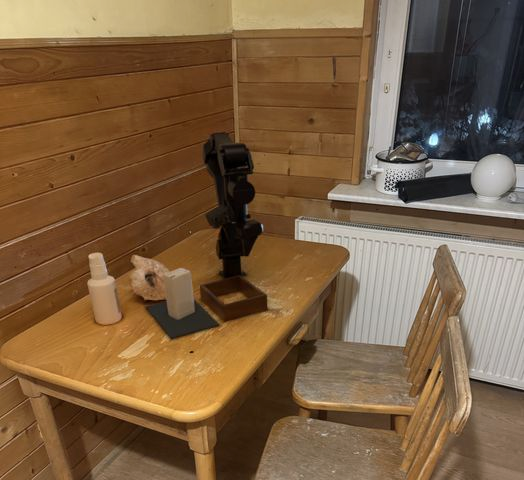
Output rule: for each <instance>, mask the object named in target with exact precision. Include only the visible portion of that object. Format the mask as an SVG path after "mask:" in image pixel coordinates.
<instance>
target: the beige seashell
mask: <svg viewBox="0 0 524 480" xmlns="http://www.w3.org/2000/svg"><path fill="white" fill-rule="evenodd" d="M130 263H132V264H133V266H134V267H135V269H134V270H132V271H131V272H130V273H129V274H128V277H129V279H130V280H131V283H130V287H131V288H132V290H133V292H134V294H136V295H137V296H141V297H142V298H143V300H142V303H143V302H146V301H148V300H150V301H159V300H166V293H165V287H164V280H163V274H166V273H169V272H171V271H170V269H168V268H167V267H166V266H165V265H164V263H161V262H159V261H158V260H155V259H152V258H149V257H143V256H141V255H140V256H139V255H136V254H133V255H132V256H131V260H130Z"/></svg>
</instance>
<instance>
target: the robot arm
mask: <svg viewBox="0 0 524 480" xmlns="http://www.w3.org/2000/svg"><path fill="white" fill-rule="evenodd" d="M202 145H203V146H202V162H203V165H205V168H206V171H207V173H208V175H209V176H210V177H211V178H212V180H213V184H214V189H215V196H216V202H217V206H216V207H214V208H213V209H211V210H209V211H208V212H206V213H205V214H204V216H205V219H206V221H207V223H208V225H209V227H212V228H213V229H215V230H216V229H219V228H220V229H219V232H218V234H217V239H216V243H215V244H216V245H215V251H216V252H215V253H216V256H217V258H218V260H221V261H222V270H219V271H218V273H219V274H220V275H221V276H222V277H223V278H224V279H226V278H230V277H234V276H238V275H241V276H242V277H245V276H246V275H247V273H246V272H245V271H243V270H242V257H245V258H247V257H249V256H250V254H251V252H252V251H253V247H254V246H255V243H256V241H257V239H258V237H259V236H261V235H262V234H263V233H264V225H263V224H262V223H261V222H260V221H258V220H256V219H253V218H252V216H251V213H249V212H248V204H251V203H252V202H253V201H254V199H255V196H256V189H255V186H254V184H252V183H251V181H250V180H249V178H248V175H253V174H254V168H255V165H254V161H253V157H252V152H251V151H250V149H249V147H247V145H246V144H245V143H244V142H235V141H234V140H233V139H232V138H231V137H230V135H229V132H226V131H221V132H219V131H218V132H212V133H210V135H209V139H208V140H206V141H205V143H204V144H202ZM251 218H252V219H251ZM248 219H249V220H248Z"/></svg>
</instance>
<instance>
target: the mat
mask: <svg viewBox="0 0 524 480" xmlns="http://www.w3.org/2000/svg"><path fill="white" fill-rule="evenodd" d="M194 306H195V312H194V313H192V314H190V315H188V316H186V317H184V318H182V319H179V320H177V319H174V318H172V317H171V316H169V314H168V307H167V300H165V301H161V302H156V303H153V304H150V305H146V306H145V309H146V310H147V311H148V313H149V314H150V315H151V316H152V318H153V319H154V320H155V321H156V322H157V324H158V325H159V327H161V328H162V330H163V331H164V333H165V334H166V335H167V336H168V338H169V339H170V340H174V339H177V338H178V339H179V338H181V337H184V336H185V337H186V336H188V335H192V334H196V333H199V332H203V331H206V330H209V329H213V328H216V327H220V323H218V321H217V320H216V319H215V318H214V317H213V316H212V315H210V313H209V312H207V311H206V309H204V307H202V306H201V305H200V304H199V302H197V301H196V299H194Z"/></svg>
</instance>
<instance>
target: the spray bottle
mask: <svg viewBox="0 0 524 480" xmlns="http://www.w3.org/2000/svg"><path fill="white" fill-rule="evenodd" d="M88 261H89V263H88V266H89V270H90V276H91V278H90V279H88V280H87V283H86V284H87V288H88V294H89V297H90V303H91V306H92V310H93V315H94V319H95V322H96V323H97V324H98V325H101V326H102V325H103V326H107V325H112V324H117V323H118V322H120V321H121V320H122V319H123V318H122V317H123V314H122V310H121V304H120V298H119V294H118V290H117V289H118V288H117V284H116V280H115V278H114V276H112V275H109V273H108V269H107V265H106V261H105V259H104V255H103V253H102V252H93V253H90V254H88Z"/></svg>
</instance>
